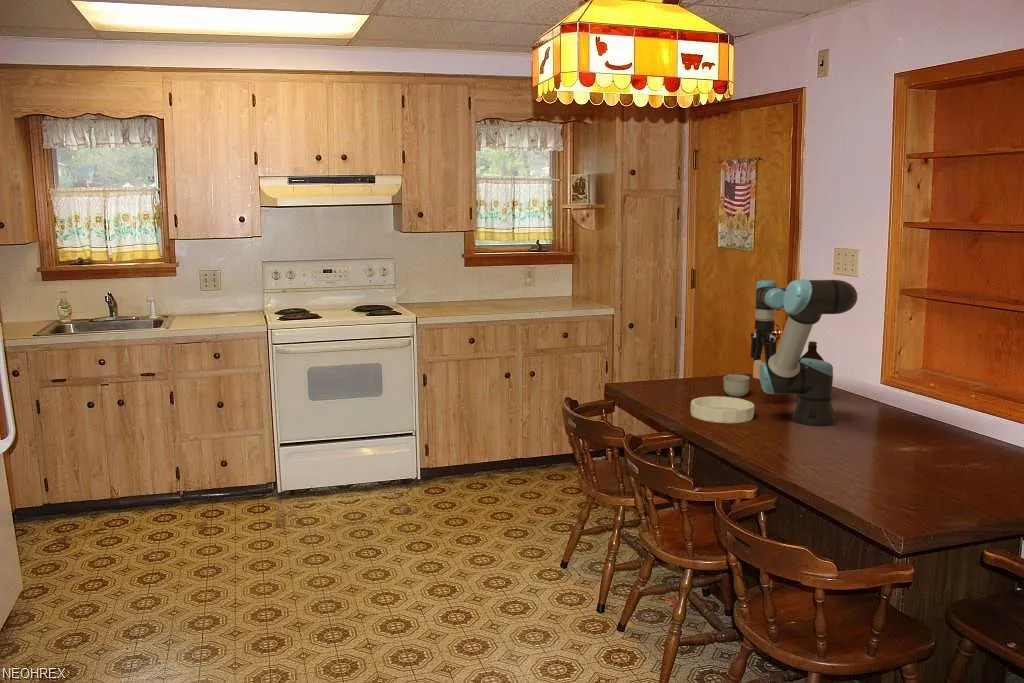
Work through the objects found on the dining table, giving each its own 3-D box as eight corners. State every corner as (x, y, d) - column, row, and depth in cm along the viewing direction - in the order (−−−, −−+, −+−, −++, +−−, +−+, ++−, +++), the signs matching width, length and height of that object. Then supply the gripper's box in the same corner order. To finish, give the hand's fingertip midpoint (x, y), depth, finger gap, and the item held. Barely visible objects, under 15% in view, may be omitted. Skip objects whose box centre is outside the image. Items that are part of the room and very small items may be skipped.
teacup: (751, 398, 366) (752, 379, 364) (725, 398, 366) (726, 379, 364) (743, 391, 379) (744, 372, 378) (718, 390, 380) (719, 372, 378)
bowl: (766, 419, 331) (766, 407, 330) (714, 425, 322) (715, 413, 321) (728, 406, 352) (728, 394, 351) (679, 411, 343) (679, 399, 342)
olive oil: (813, 406, 352) (817, 345, 348) (790, 401, 360) (793, 341, 356) (827, 402, 359) (831, 342, 354) (804, 397, 367) (808, 339, 363)
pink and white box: (771, 378, 347) (771, 363, 347) (761, 379, 346) (761, 364, 345) (763, 376, 352) (763, 361, 351) (753, 377, 350) (753, 362, 349)
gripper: (787, 321, 338) (784, 380, 342) (757, 316, 355) (755, 372, 358) (772, 322, 336) (769, 382, 339) (742, 317, 352) (740, 374, 355)
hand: (762, 377), depth 349 cm, fingers closed on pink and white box, 5 cm apart
